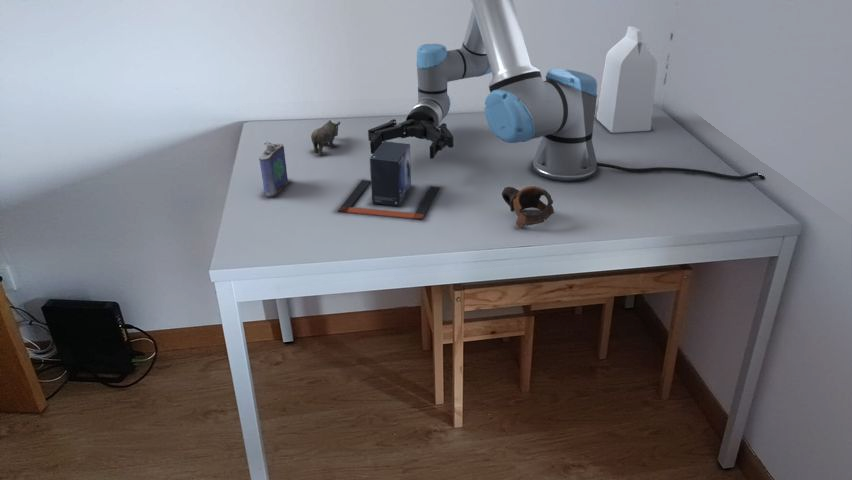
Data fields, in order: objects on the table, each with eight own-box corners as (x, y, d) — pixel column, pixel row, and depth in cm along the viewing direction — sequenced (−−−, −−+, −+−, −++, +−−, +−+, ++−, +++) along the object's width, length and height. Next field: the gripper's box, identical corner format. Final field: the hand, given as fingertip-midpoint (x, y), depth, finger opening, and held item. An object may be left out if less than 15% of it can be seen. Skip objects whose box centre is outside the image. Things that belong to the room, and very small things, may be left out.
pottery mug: (559, 215, 147) (563, 192, 140) (538, 248, 143) (541, 227, 136) (509, 190, 150) (512, 167, 142) (487, 222, 146) (488, 200, 138)
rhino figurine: (347, 137, 181) (345, 115, 178) (324, 156, 170) (321, 133, 166) (332, 135, 182) (330, 113, 178) (309, 154, 170) (306, 131, 167)
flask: (273, 198, 149) (266, 151, 143) (260, 197, 149) (252, 149, 144) (291, 181, 157) (284, 135, 151) (278, 180, 157) (271, 134, 152)
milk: (596, 118, 200) (606, 24, 186) (633, 116, 202) (645, 23, 188) (611, 132, 190) (623, 34, 176) (650, 130, 192) (665, 33, 178)
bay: (439, 188, 156) (439, 186, 156) (422, 219, 143) (422, 218, 142) (362, 181, 158) (362, 179, 158) (338, 211, 145) (337, 210, 144)
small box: (400, 207, 147) (398, 160, 142) (371, 204, 148) (367, 158, 142) (413, 186, 156) (411, 142, 151) (385, 184, 157) (382, 140, 151)
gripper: (473, 138, 173) (456, 170, 155) (376, 130, 176) (349, 161, 158) (473, 108, 169) (456, 138, 151) (374, 101, 172) (346, 130, 154)
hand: (401, 150), depth 154 cm, fingers open, 13 cm apart
